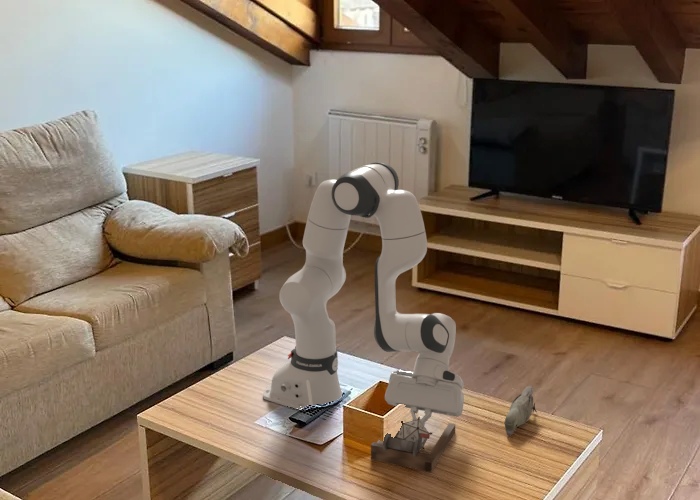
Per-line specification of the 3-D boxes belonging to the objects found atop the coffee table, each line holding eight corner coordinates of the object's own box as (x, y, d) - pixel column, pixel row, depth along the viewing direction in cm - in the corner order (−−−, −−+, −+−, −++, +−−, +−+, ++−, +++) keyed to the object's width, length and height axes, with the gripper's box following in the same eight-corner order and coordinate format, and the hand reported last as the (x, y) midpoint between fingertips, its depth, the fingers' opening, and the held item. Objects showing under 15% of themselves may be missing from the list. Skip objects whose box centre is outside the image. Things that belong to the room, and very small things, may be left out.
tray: (369, 462, 205) (368, 427, 202) (398, 422, 223) (398, 389, 220) (429, 475, 199) (430, 439, 196) (455, 432, 217) (456, 399, 214)
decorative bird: (498, 434, 216) (499, 408, 214) (519, 408, 229) (521, 383, 227) (518, 440, 214) (519, 413, 211) (539, 413, 227) (540, 388, 224)
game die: (419, 465, 210) (431, 449, 202) (387, 453, 210) (397, 436, 202) (427, 434, 215) (438, 417, 207) (395, 422, 215) (406, 405, 208)
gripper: (388, 364, 219) (375, 415, 213) (465, 377, 211) (453, 430, 205) (395, 373, 224) (382, 422, 218) (469, 385, 216) (458, 437, 211)
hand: (417, 426), depth 212 cm, fingers closed, pressing on game die
